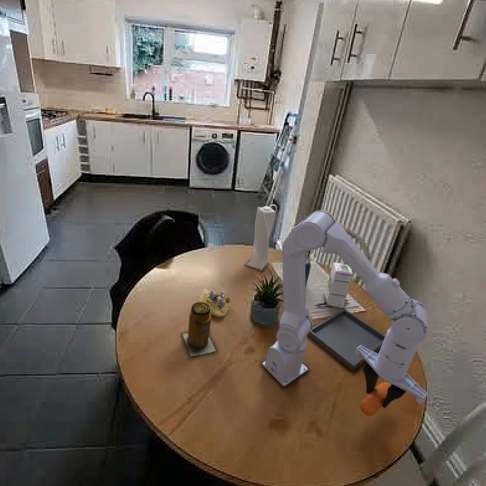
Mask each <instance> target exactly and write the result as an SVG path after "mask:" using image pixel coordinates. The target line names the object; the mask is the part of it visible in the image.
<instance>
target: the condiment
mask: <svg viewBox="0 0 486 486" xmlns="http://www.w3.org/2000/svg"><path fill="white" fill-rule="evenodd" d="M211 319H212V314H210V306H209V305H208V304H207V303H205V302H198V301H197V302H194V303H193V304H192V305H191V308H190V313H189V317H188V332H187V333H182V337H183V340H184V343H185V345H186V347H187V351H188V353H189V356H190V357H197V356H202V355H207V354H210V353H214V352H216V348H215V347H214V344H213V342H212V340H211V338H210V332H211V323H212V320H211Z"/></svg>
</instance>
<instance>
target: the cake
mask: <svg viewBox="0 0 486 486" xmlns="http://www.w3.org/2000/svg"><path fill="white" fill-rule="evenodd" d="M216 275H218V274H216ZM224 283H225V280H223V281H222V285H221V288H220V291H219V292H215V291H212V290H210V289H208V288H202V291H201V293H200V295H199V297H198V300H197V302H205V303H207V304H208V305H209V306H210V315H211V316H215V317H220V318H222V317H225V316H226V315H227V313H228V311H229V309H230V308H231V305H232V301H231V297H228V295H224V294H225V292H226V289H224V287H223V286H224Z"/></svg>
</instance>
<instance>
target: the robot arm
mask: <svg viewBox="0 0 486 486" xmlns="http://www.w3.org/2000/svg"><path fill="white" fill-rule="evenodd" d="M320 248H322V249H321V250H320V253H322V254H331V255H336V256H338V257H339V258H340V259H341V260H342V261H343V263H344V264H347V265H348V266H349V267H350V268H351V271H352V272H354V273H355V274H356V275H357V276H358V277H359V278H360V279H361V280H362V281H363V282H364V292H365V293H366V294H367V295H368V296H369V297H370V299H371V300H372V301H373V302H374V303H375V304H376V306H377V307H379V309H380V310H381V312H383V314H384V315H385V316H386V317H387V318H389V320H391V321H390V327H389V328H388V329H387V331H386V334H385V339H384V341H383V344H382V346H381V348H380V349H379V350H378V351H379V352H378V353H377V352H373V351H371V350H369V349H367V348H365V347H363V346H362V345H360V346H359V347H357V348H356V351H355V355H356V356H358V357H360V356H361V357H362V358H363V359H365V362H366V363H365V365H364V366H363V367H362V372H363V375H364V378H365V385H366V391H365V393H366V394H367V395H368V394H369V393H370V392H372V391H373V390H374V389H375V388H376V387H377V383H378V379H379V378H381V379H382V380H384V381H385V382H389V383H391V384H392V385H391V386H390V387H389V388H388V391H387V395H386V398H385V400H384V402H383V404H382V407H383V408H384V409H386V408H387V407H388V406H389V405H390V404H391V402H393V401H395V400H398V399H401V398H402V397H403V396H404V395H405V394H406V393H408V394H409V395H411V396H412V397H413V398H414V399H415V401H416V402H417V403H418V404H419V405H422V404H423V403H424V401H425V400H426V398H427V396H428V394H429V393H428V392H427V391H425V390H424V389H423V388H422V387H421V386H420V385H419V384H418V383H417V382H416V381H415V380H414V379H413V378H412V377H411V376H410V374H408V370H409V368H410V365H411V363H412V361H413V359H414V357H415V354H416V352H417V350H418V348H419V343H420V342H422V341H424V340H426V338H427V337H428V335H427V332H428V323H429V322H428V320H429V315H428V310H427V309H426V307H425V306H424V304H423V303H422V302H420V301H418V300H416V299H412V298H410V296H409V295H408V294H407V293H406V292H405V291H404V290H403V289H402V288H401V286H400V284H401V282H400V281H399V280H398V279H397V278H392V276H391V275H390V274H388V273H385V272H381V271H378V270H377V268H376V267H375V266H374V265H373V263H372V262H371V261H370V260H369V259H368V258H367V256H366V255H365V254H364V253H363V251H362V250H361V249H360V248H359V247H358V246H357V244H356V243H355V242H354V241H353V239H352V238H351V237H350V236H349V234H348V232H347V231H346V229H345V227H344V226H343V225H342V224H341V222H339V221H338V220H336V219H335V217H334V215H332V213H330V212H329V211H326V210H322V209H321V210H315V211H314V212H313V211H312V212H311V213H310V214H309V215H307V216H305V217H304V218H303V219H302V220H301V221H300V222H299V223H298V224H297V225H295V226H293V227H292V228H291V230H290V232H289V233H288V235H287V236H286V238H285V239H284V240H283V242H282V244H281V258H282V259H281V260H282V261H281V262H282V263H281V264H282V291H283V312H282V314H281V317H280V320H279V328H278V330H277V332H276V335H275V336H276V337H275V338H276V341H275V343H274V344H272V345H271V346H269V348H268V349H267V351H266V358H265V360H264V361H263V362H262V366H263V367H264V368H265V370H267V371H268V373H270V374H271V375H272V376H273V377H274V378H275V379H276V381H277V382H278V383H279V384H280V385H281V386H283V387H286V386H287V385H289V384H290V383H291V382H293V381H294V380H296V379H297V378H299V377H300V376H302V375H303V374H305V373H306V372H307V371H308V370H309V369H308V367H307V366H306V365H305V364H304V363H303V362H304V357H305V354H306V350H307V346H308V339H307V336H308V333H309V331H310V330H311V329H312V328H313V327H314V326H313V325H314V322H313V320H312V318H311V317H310V309H309V308H307V305H306V304H307V303H306V302H307V301H306V299H307V298H306V297H307V295H306V288H305V257H306V253H307V252H310V251H315V250H318V249H320Z"/></svg>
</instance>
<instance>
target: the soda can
mask: <svg viewBox="0 0 486 486" xmlns="http://www.w3.org/2000/svg"><path fill="white" fill-rule="evenodd" d="M311 268H312V264H311V259H310V258H308V257H307V256H305V289H306V288H307V286H308V280H309V276H310V272H311Z"/></svg>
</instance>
